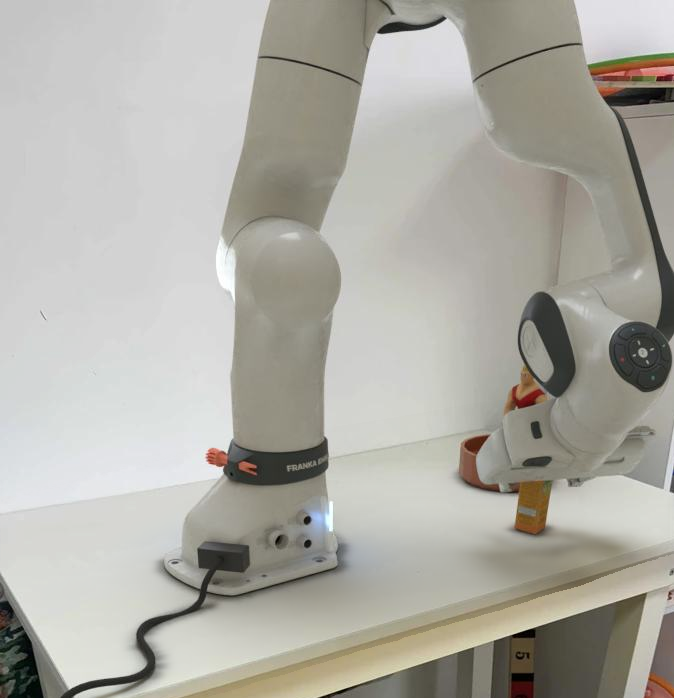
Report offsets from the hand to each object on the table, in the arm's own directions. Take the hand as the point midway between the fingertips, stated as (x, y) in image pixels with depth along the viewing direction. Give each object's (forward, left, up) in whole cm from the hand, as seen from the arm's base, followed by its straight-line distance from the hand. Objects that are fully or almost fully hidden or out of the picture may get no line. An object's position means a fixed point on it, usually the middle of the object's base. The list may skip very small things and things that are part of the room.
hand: (538, 484), depth 114 cm
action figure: (+28, +22, -7) cm, 36 cm away
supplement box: (0, +1, -7) cm, 7 cm away
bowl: (+15, +16, -6) cm, 23 cm away
